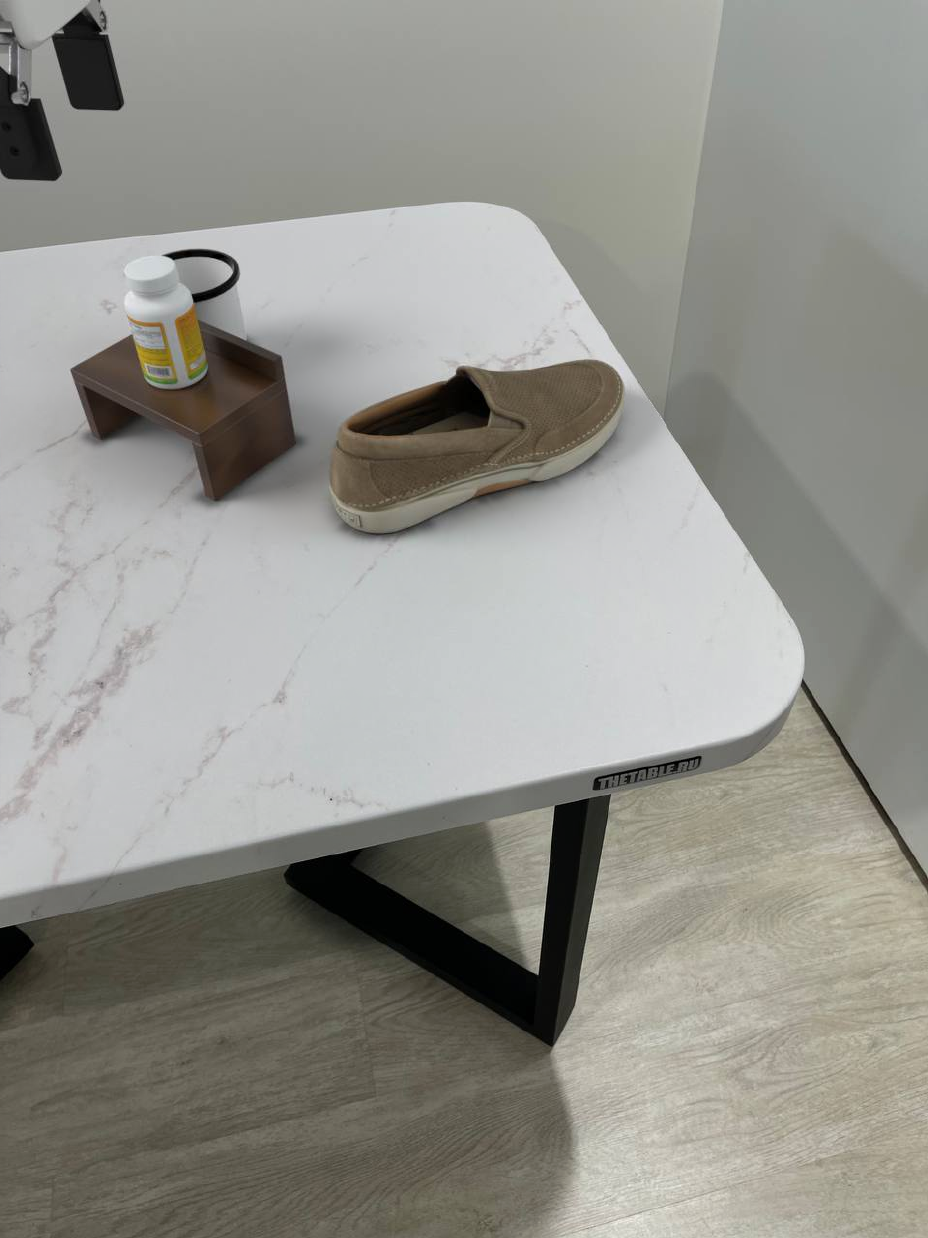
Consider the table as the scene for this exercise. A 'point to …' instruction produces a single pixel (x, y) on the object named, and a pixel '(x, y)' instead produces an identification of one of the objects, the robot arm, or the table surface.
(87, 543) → the table surface
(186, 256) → the mug
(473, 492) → the slip on shoe
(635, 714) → the table surface
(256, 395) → the shelf
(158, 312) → the supplement bottle
